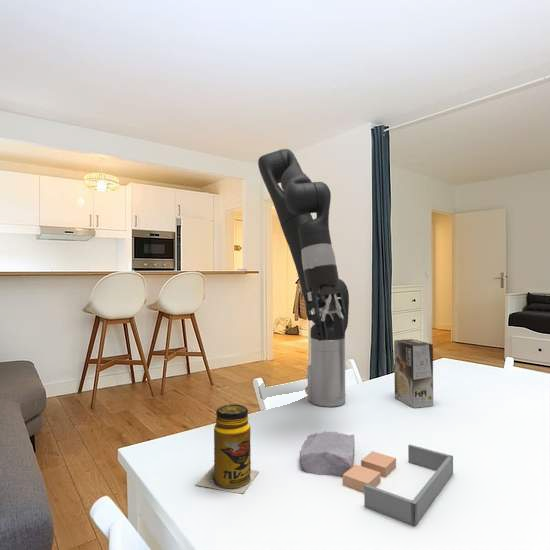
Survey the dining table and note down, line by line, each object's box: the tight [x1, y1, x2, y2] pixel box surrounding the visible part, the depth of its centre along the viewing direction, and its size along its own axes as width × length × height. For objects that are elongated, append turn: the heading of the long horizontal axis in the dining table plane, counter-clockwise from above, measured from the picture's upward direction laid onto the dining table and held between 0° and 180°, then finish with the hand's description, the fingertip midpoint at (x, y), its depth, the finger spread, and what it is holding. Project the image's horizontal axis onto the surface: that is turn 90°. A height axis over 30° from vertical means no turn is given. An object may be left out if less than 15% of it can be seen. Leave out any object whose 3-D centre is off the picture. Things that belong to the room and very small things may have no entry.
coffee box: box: [393, 338, 434, 409], centre depth 106 cm, size 9×6×16 cm
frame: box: [363, 444, 454, 527], centre depth 63 cm, size 8×18×3 cm, turn 141°
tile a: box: [342, 464, 382, 493], centre depth 65 cm, size 4×4×2 cm
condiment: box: [194, 403, 260, 494], centre depth 67 cm, size 7×8×12 cm
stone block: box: [299, 430, 356, 477], centre depth 73 cm, size 12×5×10 cm
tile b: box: [360, 451, 397, 478], centre depth 70 cm, size 4×4×2 cm
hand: (331, 338), depth 87 cm, fingers open, 8 cm apart
